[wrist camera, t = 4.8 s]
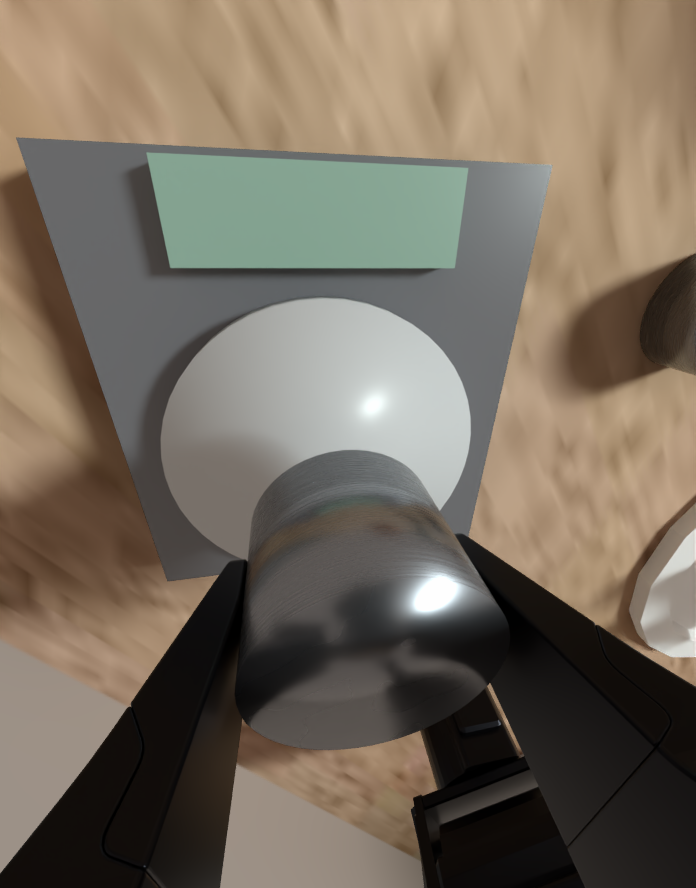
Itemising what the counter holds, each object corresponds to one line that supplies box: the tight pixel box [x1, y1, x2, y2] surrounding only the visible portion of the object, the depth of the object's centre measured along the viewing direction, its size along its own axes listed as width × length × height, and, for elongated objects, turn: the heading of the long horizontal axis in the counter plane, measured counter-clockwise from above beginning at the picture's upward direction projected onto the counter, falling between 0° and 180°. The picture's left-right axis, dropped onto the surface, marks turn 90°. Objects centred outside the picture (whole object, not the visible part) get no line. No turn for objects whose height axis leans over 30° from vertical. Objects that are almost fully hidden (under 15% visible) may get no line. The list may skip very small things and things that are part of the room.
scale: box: [16, 138, 552, 581], centre depth 13 cm, size 15×14×3 cm
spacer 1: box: [234, 450, 510, 750], centre depth 8 cm, size 5×5×4 cm
